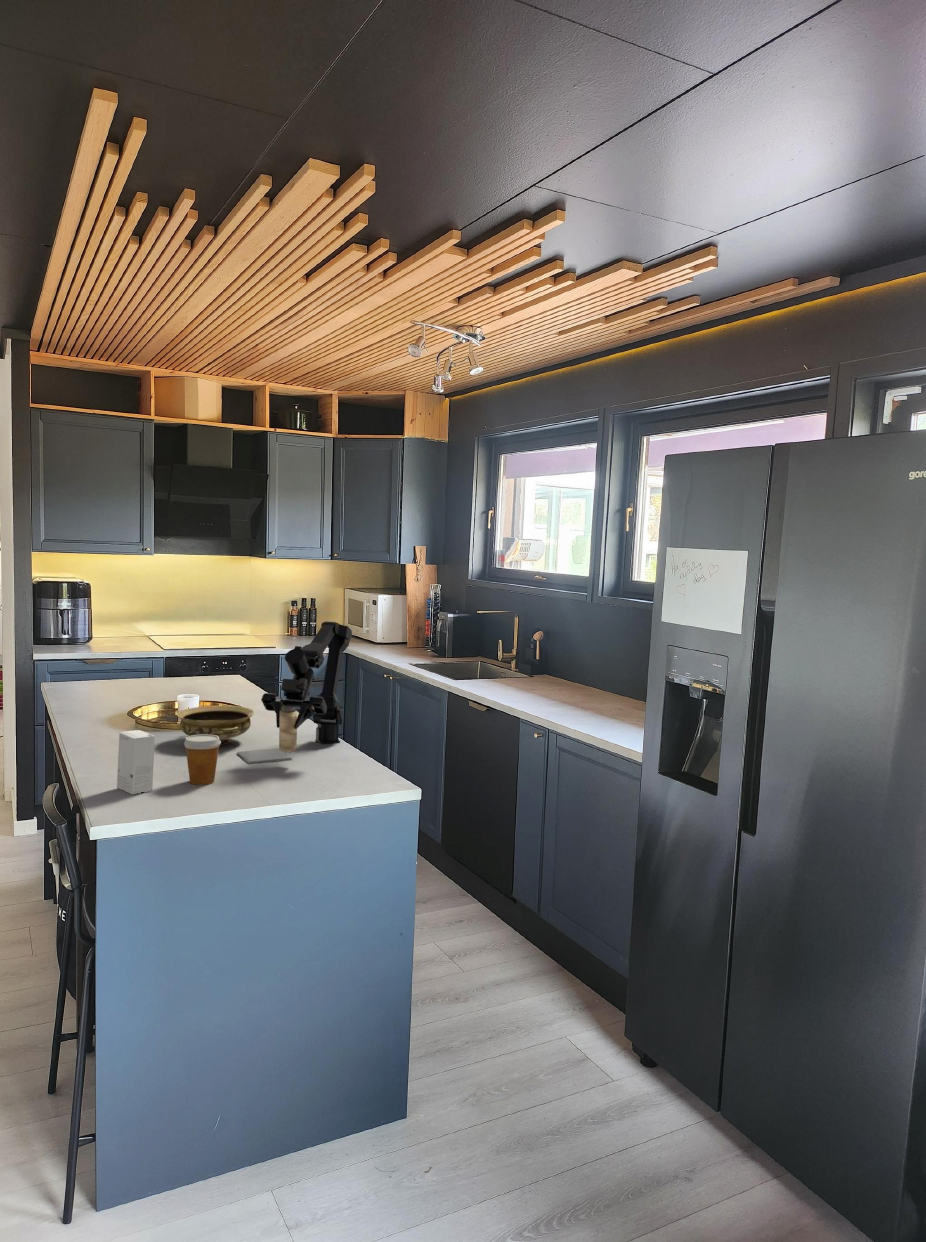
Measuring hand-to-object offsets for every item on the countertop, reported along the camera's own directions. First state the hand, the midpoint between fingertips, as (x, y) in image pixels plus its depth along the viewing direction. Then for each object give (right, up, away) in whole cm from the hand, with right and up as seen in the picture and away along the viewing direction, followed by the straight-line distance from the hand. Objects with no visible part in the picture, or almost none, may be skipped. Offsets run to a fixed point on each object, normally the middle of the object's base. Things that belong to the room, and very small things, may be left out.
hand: (286, 727), depth 242 cm
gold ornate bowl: (-29, -9, +27) cm, 40 cm away
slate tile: (-9, -10, +12) cm, 18 cm away
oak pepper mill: (0, -6, +2) cm, 7 cm away
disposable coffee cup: (-19, -13, -17) cm, 28 cm away
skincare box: (-33, -13, -26) cm, 44 cm away
